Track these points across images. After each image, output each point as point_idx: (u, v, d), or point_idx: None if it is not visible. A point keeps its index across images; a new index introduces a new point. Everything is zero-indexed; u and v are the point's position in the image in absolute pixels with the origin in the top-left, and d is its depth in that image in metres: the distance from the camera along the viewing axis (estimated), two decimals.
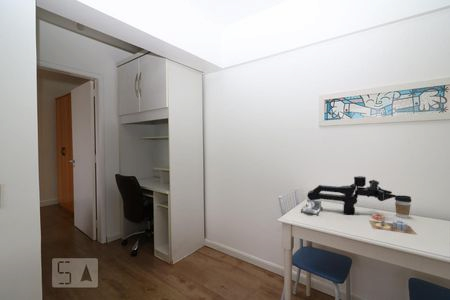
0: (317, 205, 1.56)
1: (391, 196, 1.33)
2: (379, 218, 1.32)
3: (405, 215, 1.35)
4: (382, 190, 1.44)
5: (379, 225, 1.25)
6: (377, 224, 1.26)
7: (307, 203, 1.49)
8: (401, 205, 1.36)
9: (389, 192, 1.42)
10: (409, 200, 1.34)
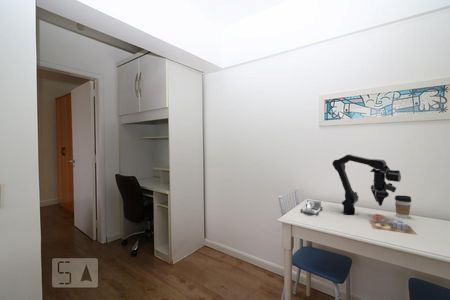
0: (317, 205, 1.56)
1: (380, 202, 1.30)
2: (379, 218, 1.32)
3: (405, 215, 1.35)
4: None
5: (379, 225, 1.25)
6: (377, 224, 1.26)
7: (307, 203, 1.49)
8: (401, 205, 1.36)
9: (377, 199, 1.38)
10: (409, 200, 1.34)
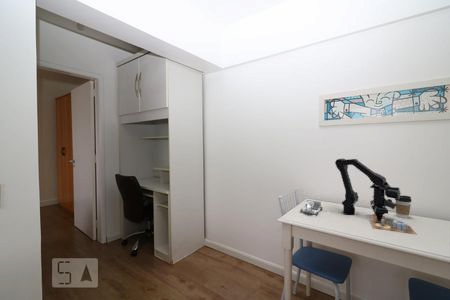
0: (317, 205, 1.56)
1: (379, 218, 1.31)
2: None
3: (405, 215, 1.35)
4: None
5: (379, 225, 1.25)
6: (377, 224, 1.26)
7: (306, 203, 1.49)
8: (401, 205, 1.36)
9: None
10: (409, 200, 1.34)
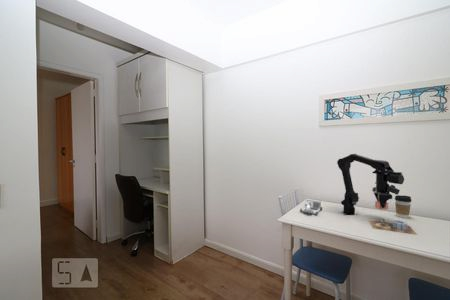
0: (316, 205, 1.56)
1: (382, 204, 1.26)
2: None
3: (405, 215, 1.35)
4: None
5: (379, 225, 1.25)
6: (377, 224, 1.26)
7: (306, 203, 1.49)
8: (401, 205, 1.36)
9: None
10: (409, 200, 1.34)
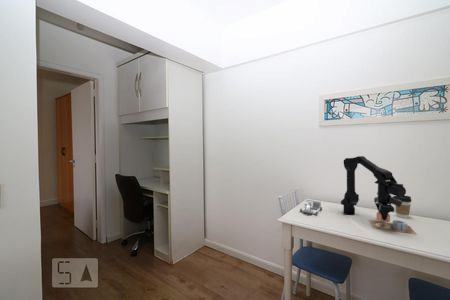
0: (316, 205, 1.55)
1: (384, 216, 1.20)
2: None
3: (405, 215, 1.35)
4: None
5: (379, 225, 1.25)
6: (377, 224, 1.26)
7: (306, 203, 1.49)
8: (401, 205, 1.36)
9: None
10: (409, 200, 1.34)
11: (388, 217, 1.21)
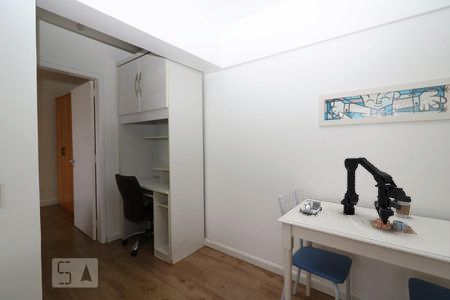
0: (316, 205, 1.55)
1: (384, 221, 1.19)
2: None
3: (405, 215, 1.35)
4: None
5: None
6: None
7: (305, 203, 1.49)
8: None
9: (381, 217, 1.28)
10: (409, 200, 1.34)
11: (388, 223, 1.21)
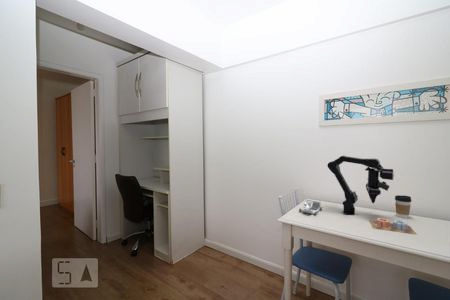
0: (316, 205, 1.55)
1: (372, 199, 1.34)
2: (384, 223, 1.21)
3: (405, 215, 1.35)
4: None
5: None
6: None
7: (305, 203, 1.49)
8: (401, 205, 1.36)
9: None
10: (409, 200, 1.34)
11: (388, 223, 1.21)
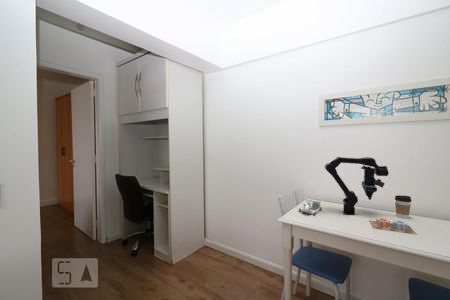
0: (316, 205, 1.55)
1: (369, 196, 1.40)
2: (384, 223, 1.21)
3: (405, 215, 1.35)
4: None
5: None
6: None
7: (305, 203, 1.50)
8: (401, 205, 1.36)
9: (367, 194, 1.49)
10: (409, 200, 1.34)
11: (388, 223, 1.21)
